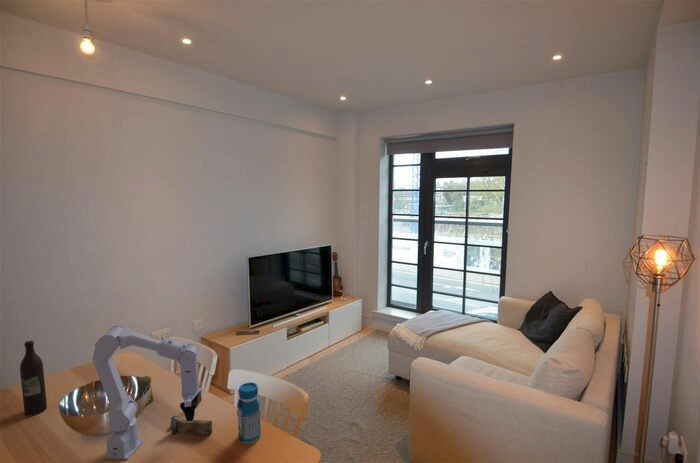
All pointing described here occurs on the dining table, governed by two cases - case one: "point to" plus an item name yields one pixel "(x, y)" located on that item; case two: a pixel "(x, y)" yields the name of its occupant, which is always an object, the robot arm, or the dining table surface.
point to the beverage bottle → (248, 413)
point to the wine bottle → (32, 381)
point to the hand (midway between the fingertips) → (191, 413)
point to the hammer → (175, 419)
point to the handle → (194, 427)
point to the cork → (144, 386)
